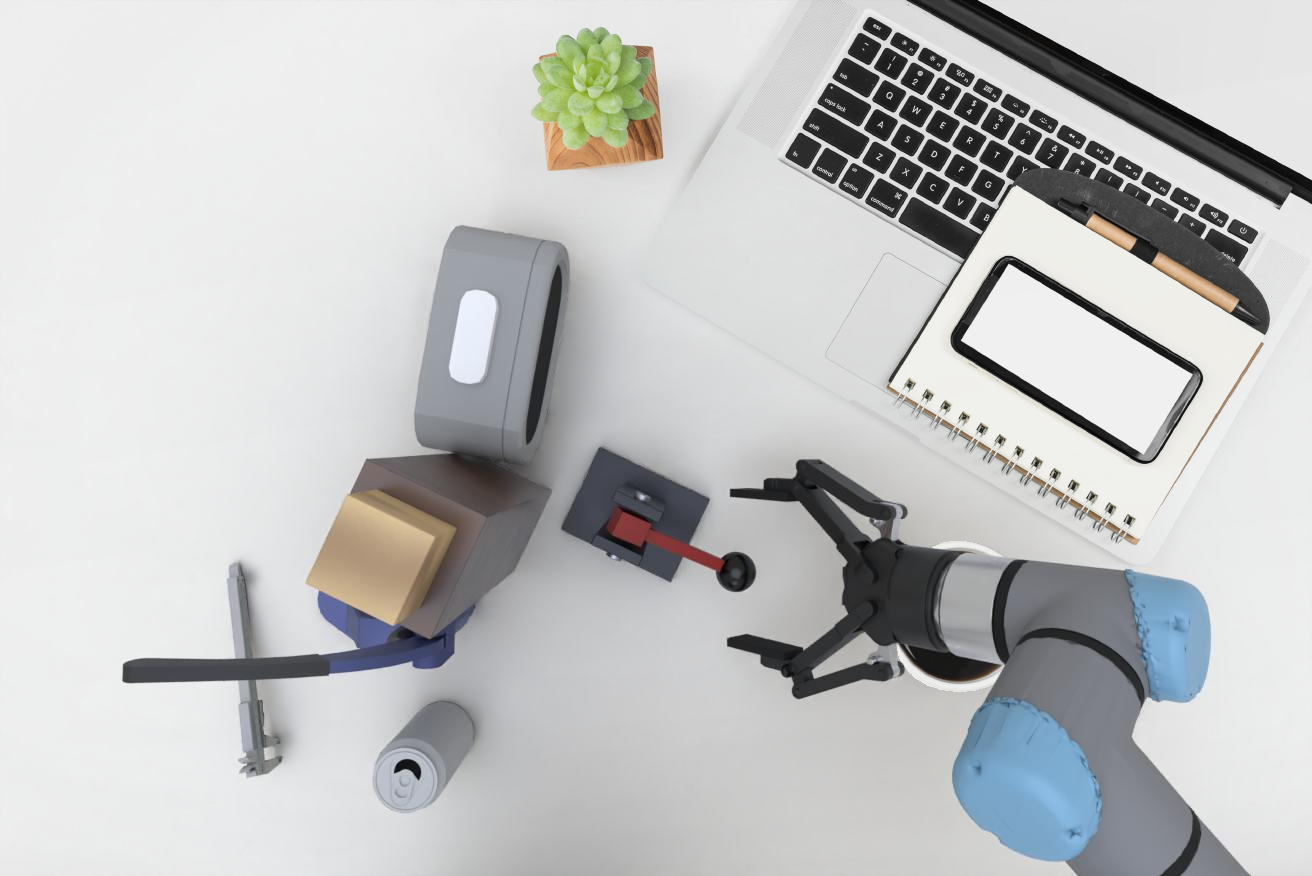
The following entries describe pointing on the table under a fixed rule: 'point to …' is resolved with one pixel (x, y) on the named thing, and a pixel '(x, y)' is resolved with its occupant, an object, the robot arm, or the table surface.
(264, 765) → the caliper
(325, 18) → the table surface
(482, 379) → the alarm clock
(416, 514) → the jaw block
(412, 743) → the beverage can
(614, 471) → the toggle clamp
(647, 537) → the clamp lever
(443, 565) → the dark brown block
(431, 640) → the clamp
